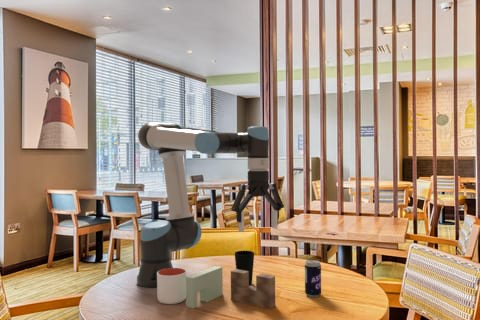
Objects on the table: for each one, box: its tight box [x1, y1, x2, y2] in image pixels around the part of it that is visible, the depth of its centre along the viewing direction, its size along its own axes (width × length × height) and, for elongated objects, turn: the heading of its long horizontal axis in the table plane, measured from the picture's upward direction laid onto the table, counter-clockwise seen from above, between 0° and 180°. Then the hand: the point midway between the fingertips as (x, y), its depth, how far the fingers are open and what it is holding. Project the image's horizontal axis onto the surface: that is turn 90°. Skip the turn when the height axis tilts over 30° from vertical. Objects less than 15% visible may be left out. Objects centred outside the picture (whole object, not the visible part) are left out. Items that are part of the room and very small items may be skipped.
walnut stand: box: [230, 268, 276, 310], centre depth 142 cm, size 16×3×10 cm, turn 55°
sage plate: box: [185, 265, 224, 309], centre depth 145 cm, size 16×3×10 cm, turn 145°
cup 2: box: [234, 250, 255, 286], centre depth 164 cm, size 8×8×12 cm
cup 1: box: [156, 267, 187, 305], centre depth 146 cm, size 10×10×10 cm
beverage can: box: [304, 259, 322, 298], centre depth 149 cm, size 6×6×12 cm
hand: (258, 229), depth 149 cm, fingers open, 13 cm apart
